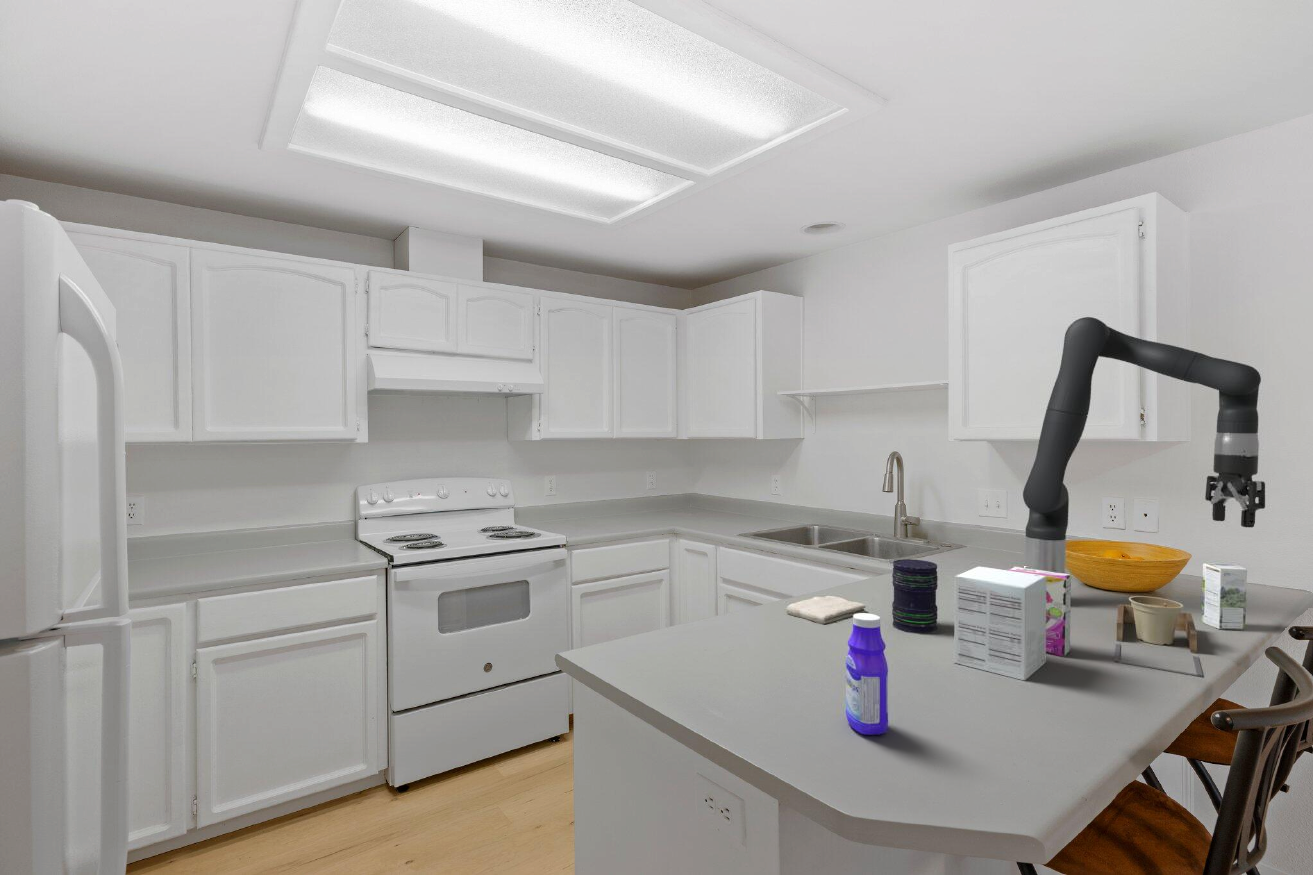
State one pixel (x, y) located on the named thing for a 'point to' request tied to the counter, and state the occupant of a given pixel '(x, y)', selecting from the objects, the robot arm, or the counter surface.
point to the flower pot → (1155, 618)
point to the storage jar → (914, 596)
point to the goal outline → (1196, 661)
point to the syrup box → (1224, 596)
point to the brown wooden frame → (1182, 624)
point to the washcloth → (825, 609)
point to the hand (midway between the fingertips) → (1232, 523)
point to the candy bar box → (1055, 609)
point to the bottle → (867, 677)
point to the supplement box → (1000, 621)
